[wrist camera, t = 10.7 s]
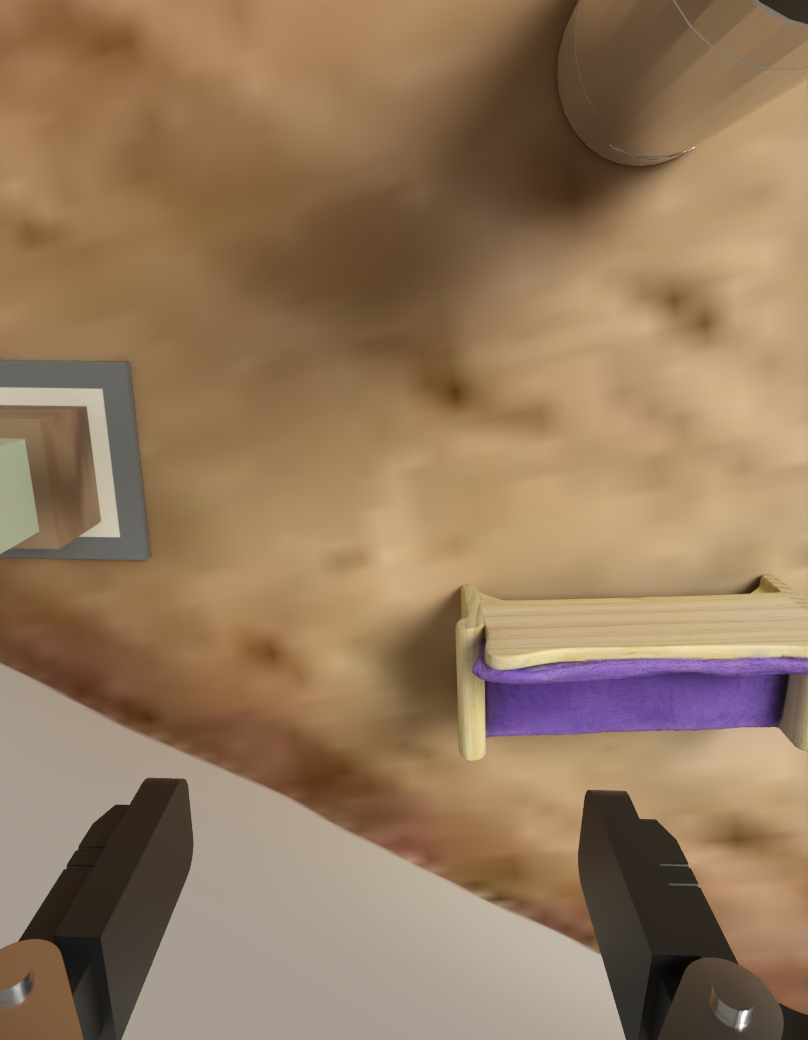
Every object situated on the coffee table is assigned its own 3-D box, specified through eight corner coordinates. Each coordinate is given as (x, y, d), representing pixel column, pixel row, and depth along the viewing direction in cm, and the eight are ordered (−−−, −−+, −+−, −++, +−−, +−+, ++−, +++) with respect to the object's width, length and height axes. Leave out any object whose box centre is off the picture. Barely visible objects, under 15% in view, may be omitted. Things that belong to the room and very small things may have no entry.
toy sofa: (452, 699, 45) (463, 807, 35) (449, 581, 42) (460, 660, 32) (765, 690, 44) (866, 797, 34) (782, 569, 42) (895, 647, 32)
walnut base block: (-34, 404, 38) (-98, 416, 33) (86, 406, 38) (39, 418, 33) (-13, 519, 40) (-71, 546, 36) (101, 521, 40) (59, 548, 35)
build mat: (-77, 358, 38) (-86, 359, 38) (129, 361, 38) (124, 362, 37) (-39, 553, 42) (-46, 557, 41) (150, 556, 42) (146, 560, 41)
